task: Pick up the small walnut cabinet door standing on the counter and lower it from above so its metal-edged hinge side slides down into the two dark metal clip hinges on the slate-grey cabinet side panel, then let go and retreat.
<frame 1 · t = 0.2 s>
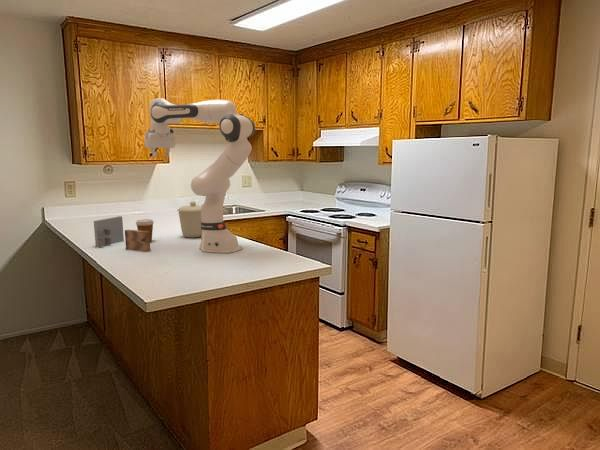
hand: (160, 156, 239), 47 cm above the table, fingers open, 8 cm apart
disposable coffee cup: (146, 241, 253), on the table
cabinet side: (114, 247, 238), on the table
canister: (194, 236, 267), on the table
walnut door: (138, 249, 232), on the table
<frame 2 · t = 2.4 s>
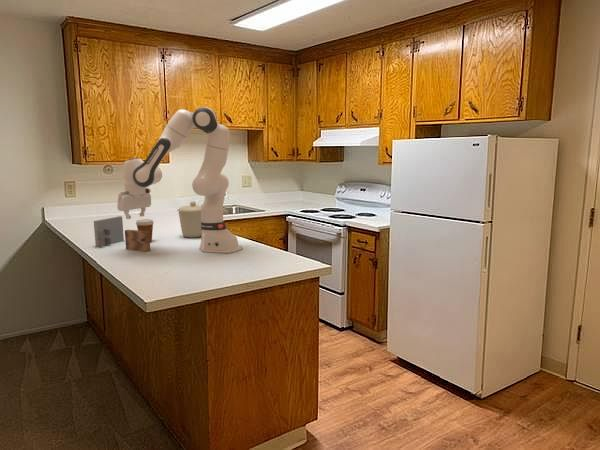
hand: (135, 217, 229), 17 cm above the table, fingers open, 8 cm apart
nothing on the table moved.
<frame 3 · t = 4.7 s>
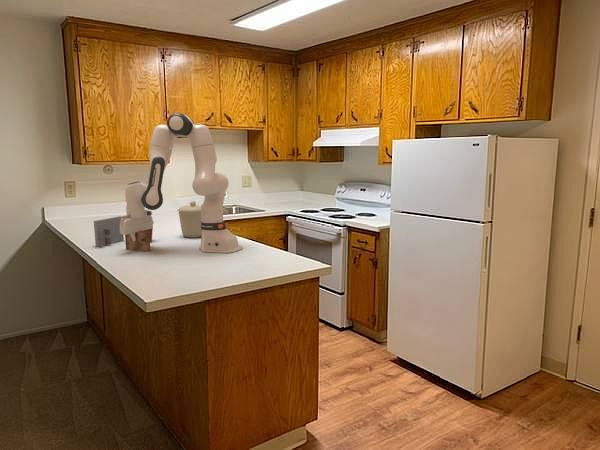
hand: (137, 240, 231), 5 cm above the table, fingers closed on walnut door, 2 cm apart
walnut door: (138, 249, 232), on the table, touching gripper
everything else where it was.
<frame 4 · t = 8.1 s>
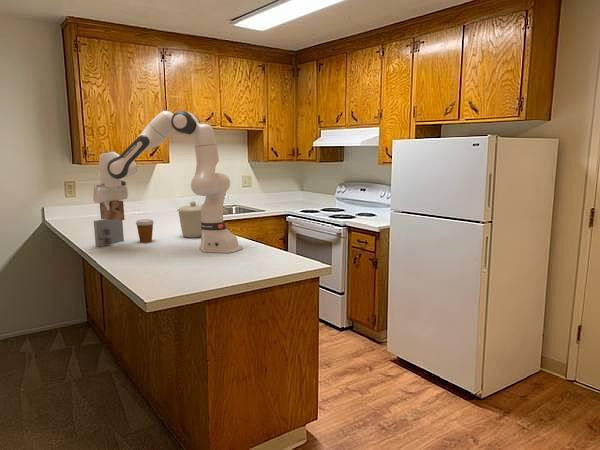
hand: (112, 209, 235), 20 cm above the table, fingers closed on walnut door, 2 cm apart
walnut door: (112, 219, 236), point 15 cm above the table, touching gripper
everything else where it was.
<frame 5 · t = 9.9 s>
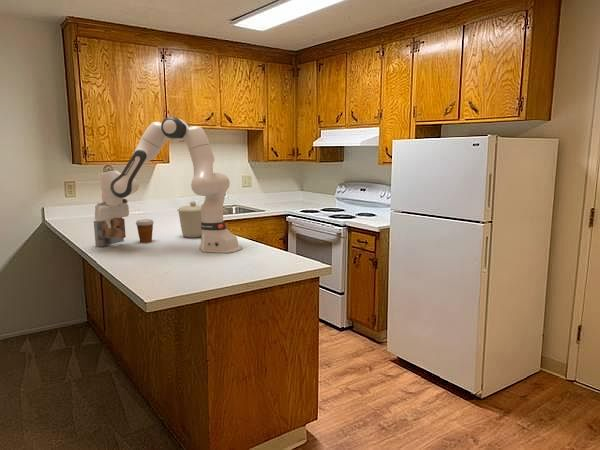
hand: (113, 227, 237), 11 cm above the table, fingers closed on walnut door, 2 cm apart
walnut door: (113, 236, 238), point 6 cm above the table, touching gripper
everything else where it was.
when the fingers open (7 cm above the table, at t = 11.6 s): walnut door drops 1 cm, on the table.
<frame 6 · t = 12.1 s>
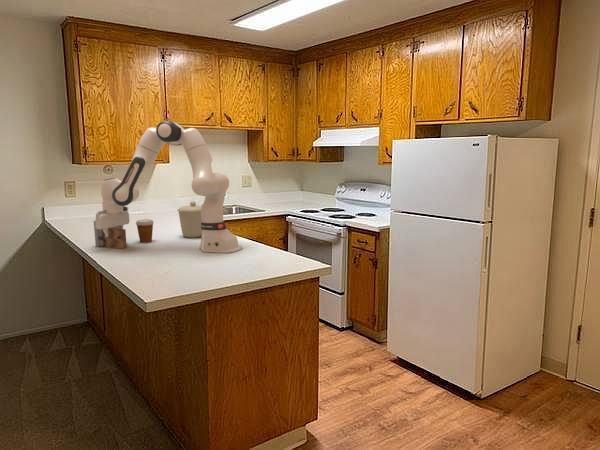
hand: (113, 235, 237), 7 cm above the table, fingers open, 7 cm apart
walnut door: (114, 247, 238), on the table
everything else where it was.
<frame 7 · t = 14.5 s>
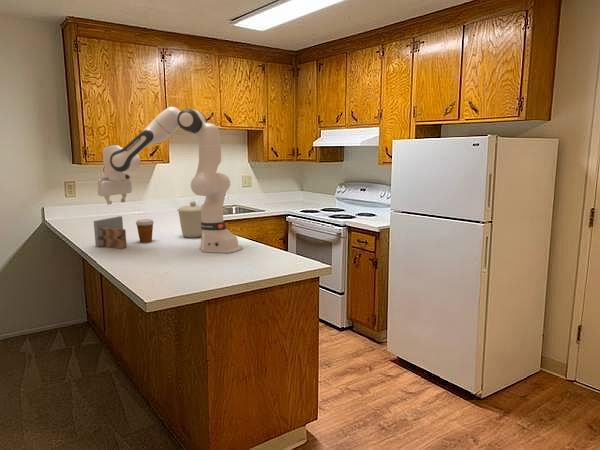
hand: (116, 203, 235), 23 cm above the table, fingers open, 8 cm apart
nothing on the table moved.
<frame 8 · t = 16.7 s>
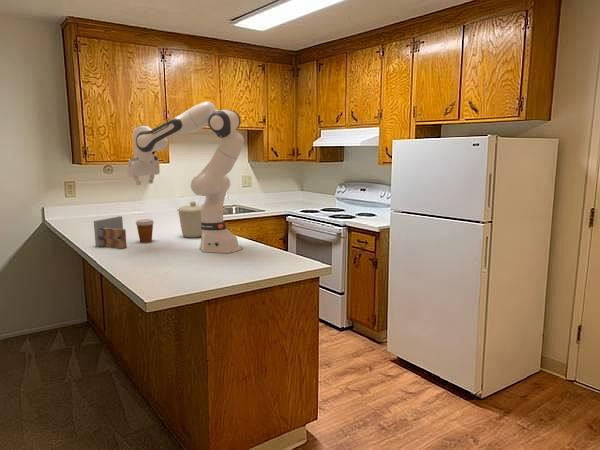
hand: (144, 184, 236), 33 cm above the table, fingers open, 8 cm apart
nothing on the table moved.
at the end: walnut door 0.1 cm from the target spot, on the table; walnut door tilted 0°; the gripper is holding nothing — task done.
